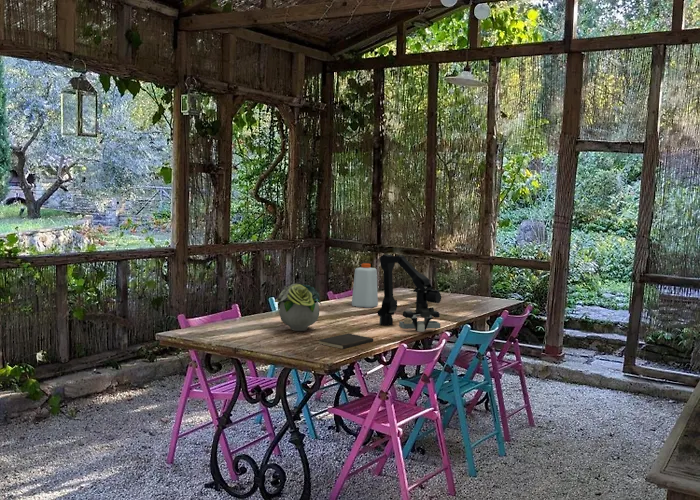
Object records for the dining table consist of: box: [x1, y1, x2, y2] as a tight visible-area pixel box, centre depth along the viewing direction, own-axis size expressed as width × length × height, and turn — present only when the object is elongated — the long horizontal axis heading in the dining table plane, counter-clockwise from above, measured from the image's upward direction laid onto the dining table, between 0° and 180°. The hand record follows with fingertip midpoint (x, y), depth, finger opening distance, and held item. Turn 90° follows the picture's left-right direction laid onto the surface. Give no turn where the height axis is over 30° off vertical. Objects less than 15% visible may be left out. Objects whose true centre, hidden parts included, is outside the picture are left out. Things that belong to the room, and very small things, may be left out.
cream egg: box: [416, 322, 426, 333], centre depth 340 cm, size 4×4×6 cm
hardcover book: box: [317, 332, 374, 350], centre depth 311 cm, size 16×23×2 cm
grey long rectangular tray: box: [398, 320, 441, 330], centre depth 351 cm, size 21×8×4 cm, turn 103°
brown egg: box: [403, 317, 412, 324], centre depth 349 cm, size 4×4×6 cm
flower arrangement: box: [274, 282, 322, 332], centre depth 338 cm, size 25×25×24 cm
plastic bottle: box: [351, 262, 379, 309], centre depth 422 cm, size 15×15×28 cm
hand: (420, 330), depth 340 cm, fingers closed on cream egg, 4 cm apart
